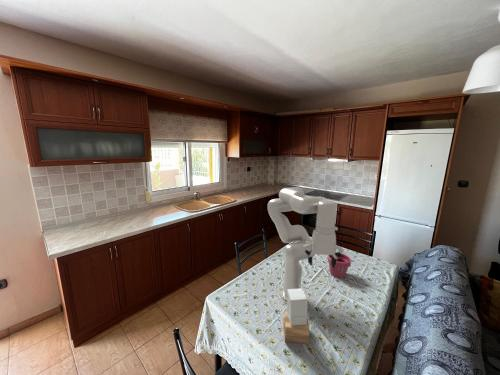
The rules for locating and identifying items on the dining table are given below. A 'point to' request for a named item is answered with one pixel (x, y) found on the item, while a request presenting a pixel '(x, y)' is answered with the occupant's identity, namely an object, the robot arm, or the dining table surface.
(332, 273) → the plant pot
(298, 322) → the supplement box
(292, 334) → the tower top
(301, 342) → the tower base
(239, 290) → the dining table surface
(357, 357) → the dining table surface
